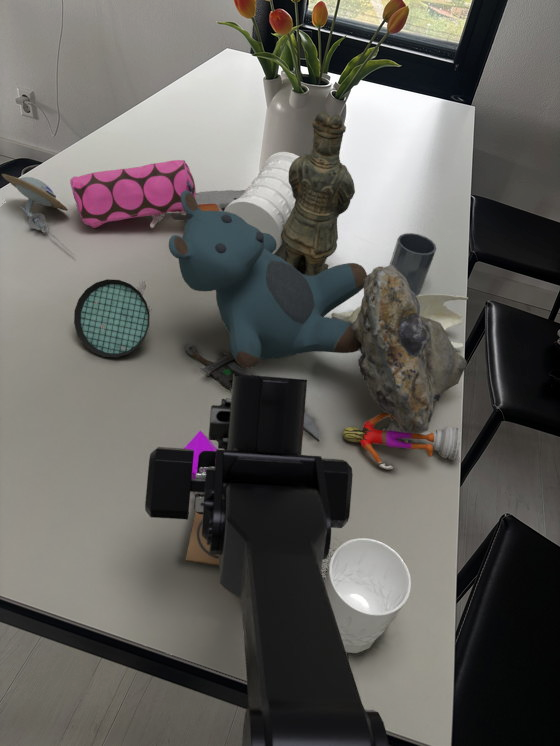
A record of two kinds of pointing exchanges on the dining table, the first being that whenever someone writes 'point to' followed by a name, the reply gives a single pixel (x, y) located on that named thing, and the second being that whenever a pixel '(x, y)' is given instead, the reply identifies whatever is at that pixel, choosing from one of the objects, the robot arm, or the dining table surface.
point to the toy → (36, 200)
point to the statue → (317, 198)
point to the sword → (225, 374)
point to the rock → (403, 351)
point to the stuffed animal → (263, 288)
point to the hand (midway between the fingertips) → (244, 475)
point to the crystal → (199, 449)
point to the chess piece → (438, 440)
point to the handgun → (212, 201)
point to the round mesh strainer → (112, 317)
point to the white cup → (365, 590)
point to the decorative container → (268, 197)
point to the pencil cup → (413, 259)
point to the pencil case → (132, 192)
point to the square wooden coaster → (199, 545)
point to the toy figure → (385, 438)
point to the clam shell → (423, 311)
